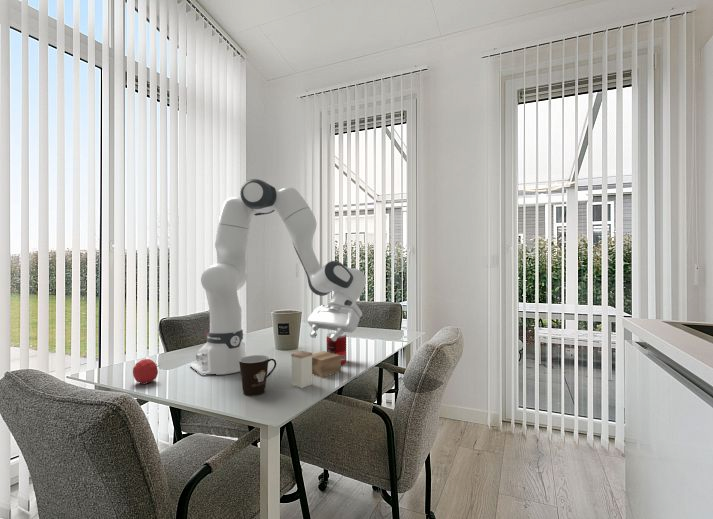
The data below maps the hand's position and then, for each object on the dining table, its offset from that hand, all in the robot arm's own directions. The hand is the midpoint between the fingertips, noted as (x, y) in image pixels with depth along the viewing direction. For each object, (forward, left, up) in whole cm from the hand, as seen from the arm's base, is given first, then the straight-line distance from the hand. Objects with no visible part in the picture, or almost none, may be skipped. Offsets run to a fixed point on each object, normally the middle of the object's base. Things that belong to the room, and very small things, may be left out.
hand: (322, 338), depth 122 cm
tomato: (-43, -38, -13) cm, 59 cm away
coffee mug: (-6, -21, -13) cm, 26 cm away
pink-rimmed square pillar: (0, -9, -13) cm, 16 cm away
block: (-4, +5, -13) cm, 15 cm away
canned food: (-8, +17, -13) cm, 23 cm away
